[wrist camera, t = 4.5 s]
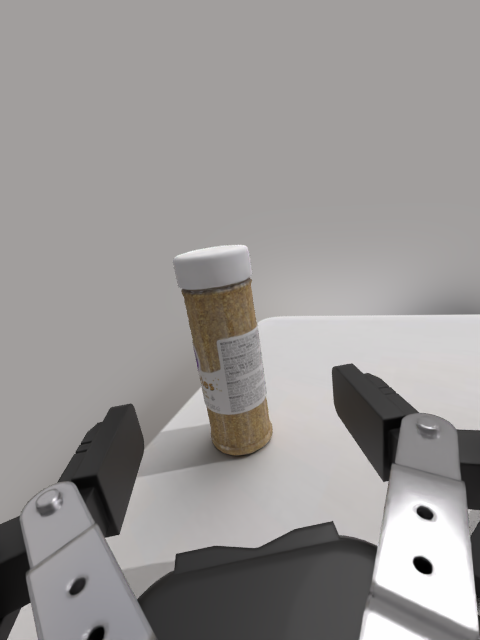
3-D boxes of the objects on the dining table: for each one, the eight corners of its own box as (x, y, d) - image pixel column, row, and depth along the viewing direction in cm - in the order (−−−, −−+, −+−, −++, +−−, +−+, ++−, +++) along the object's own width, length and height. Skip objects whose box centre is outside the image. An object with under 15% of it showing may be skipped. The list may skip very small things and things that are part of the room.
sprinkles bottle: (204, 429, 23) (165, 254, 19) (257, 409, 25) (231, 242, 21) (224, 469, 19) (180, 257, 15) (286, 442, 21) (261, 242, 16)
